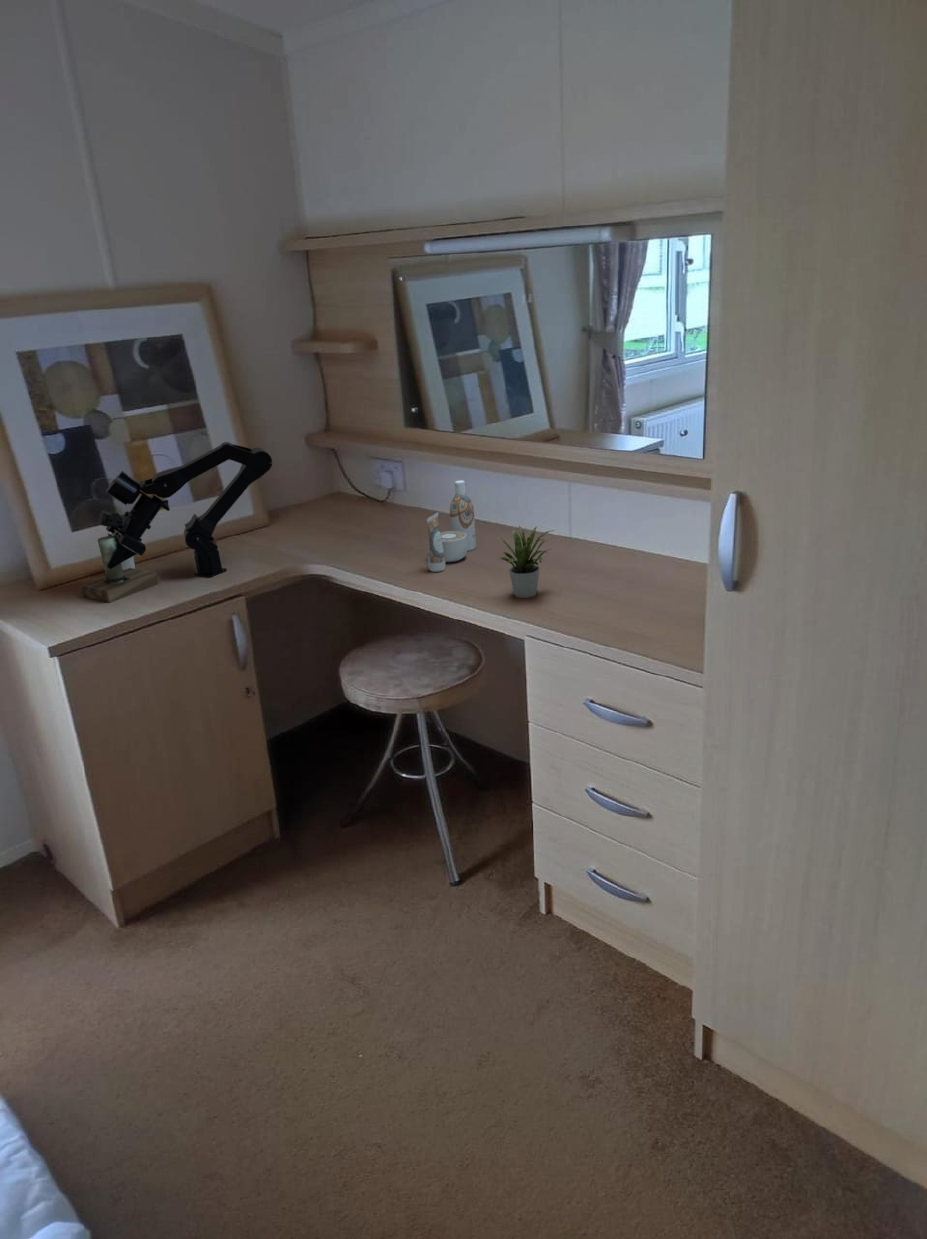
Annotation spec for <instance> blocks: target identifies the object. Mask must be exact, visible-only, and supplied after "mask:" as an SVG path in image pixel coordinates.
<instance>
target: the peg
mask: <svg viewBox="0 0 927 1239" xmlns="http://www.w3.org/2000/svg"><path fill="white" fill-rule="evenodd" d="M114 540H116V539H115V536H108V535H106V536H103V537H102V536H101V537H100V538H98V539H97V543H98V547H99V552H100V555H101V559H102V564H103V568H104V572H105V577H106V579H107V581H108V582H109V583H110V584H111V585H115V584H117V583H120V582H123V579H124V577H125V576H124V574H123V569H122V565H121V563H120V564H119V565H117V566H115V567H114V568H112V569H109V568H108V567H107V565H108V563H109V561H110V559H111V557H112V555H113V553H114V551H115V549H116V546H115V542H114Z"/></svg>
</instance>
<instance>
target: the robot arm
mask: <svg viewBox="0 0 927 1239" xmlns="http://www.w3.org/2000/svg"><path fill="white" fill-rule="evenodd" d="M226 461H233V462H235V463H239V464H241V465H240V468H239V471H238V473H237V474H236V475H235V476H234V477H233V479H232V480H231V481H230V482H229V483H228V485H227V486H225V488H224V490H222V492H221V493H220V494H219V495H218V497H217V498H216V499H215V500H214V501H213V502H212V504H211V505H210V506H209V508H208V509H207V510H206V511H205V512H204V513H202V515H200V516H198V515H197V514H195V513H193V515H192V517H191V518H190V520H189V521H188V522H187V523H184V526H185V528H184V529H183V537H184V540H185V541H184V542H185V544H186V546H187V547H188V548H189V549H191V550H194V551H193V554H194V560H195V566H196V570H197V571H194V572H193V575H195V576H199V577H204V578H212V577H214V576H217V575H219V574H222V573H224V572H226V571H227V567H222V562H221V556H220V551H219V549H218V548H219V546H218V543H217V541H216V539H215V537H214V536H213V533H214V531H215V530H216V527H217V525H218V523H219V522H220V521H221V520H222V519H223V517H224V516H225V515H226V514H227V512H229V510H230V509H231V508H232V507H233V505H234V504H235V503H236V502H237V500H238V499H239V498H240V497H241V496H242V495H243V493H244V492H245V491H246V490H247V489H248V487H249V486H250V485H251V484H253V483H254V482H255V481H257V480H259V479H260V478H262V477H263V476H264V475H265V474H267V473H268V472H269V471H270V470H271V468H272V466H273V458H272V456H271V455H270V454H269V453H268V451H267V450H266V449H264V448H261V447H253V448H250V447H246V446H242V445H238V444H233V443H232V442H228V441H225V442H222V443H221V444H220V445H218V446H216V447H214V448H213V449H211V450H208V451H207V452H205V453H203V454H201V455H200V456H198V457H196V458H194V459H192V460H190V461H189V462H188V461H187V463H184V464H183V465H180V466H177V467H173V468H172V467H171V468H168V469H165V470H162V471H159V472H156V473H155V474H154V475H153V476H152V478H149V479H144V480H142V481H141V480H140V481H137V480H135V479H134V478H133V477H131V476H129V475H128V473H126V472H125V471H124V470H121V471H120V472H119V474H118V475H117V476H116V477H115V479H113V480H112V481H111V483H109V486H108V487H107V489H106V491H105V493H106V494H107V495H109V496H110V497H112V498H113V499H115V500H117V501H119V502H120V503H122V504H123V505H124V506H127V505H133V504H134V502H135V504H134V505H133V506H132V508H131V510H130V511H128V510H127V511H125V512H124V514H120V513H118V512H114V511H107V510H102V509H101V510H100V513H99V518H98V523H99V524H100V526H103V527H106V528H105V530H106V531H107V536H115V539H116V540H114V542H115V546H116V549H115V551H114V553H113V555H112V557H111V559H110V561H109V563H108V565H107V567H108V568H109V569H112V568H114V567H115V566H117V565H119V564H120V563H122V562H124V561H125V560H127V559H129V558H131V557H132V556H138V555H139V556H141V557H142V556H143V555H144V554H145V552H146V551H147V548H146V544H145V543H144V542H142V541H143V539H142V537H143V535H144V534H145V532H146V530H150V529H152V526H151V523H152V522H153V520H154V519H155V518H156V516H157V515H158V513H159V512H160V510H161V508H162V509H164V511H165V510H166V511H167V512H169V511H171V509H170V507H169V500H168V498H170V497H172V496H174V494H176V493H177V492H179V490H181V489H182V488H183V487H184V486H185V485H186V484H187V483H189V482H190V481H191V480H193V479H195V478H197V477H199V476H200V475H202V474H204V473H206V472H208V471H210V470H212V469H214V468H215V467H217V466H219V465H221V464H223V463H225V462H226ZM140 494H141V495H140ZM149 495H150V496H149ZM161 498H162V499H161ZM137 499H138V500H137ZM163 499H164V500H163ZM136 500H137V501H136ZM108 532H109V533H108ZM110 533H111V534H110Z"/></svg>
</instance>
